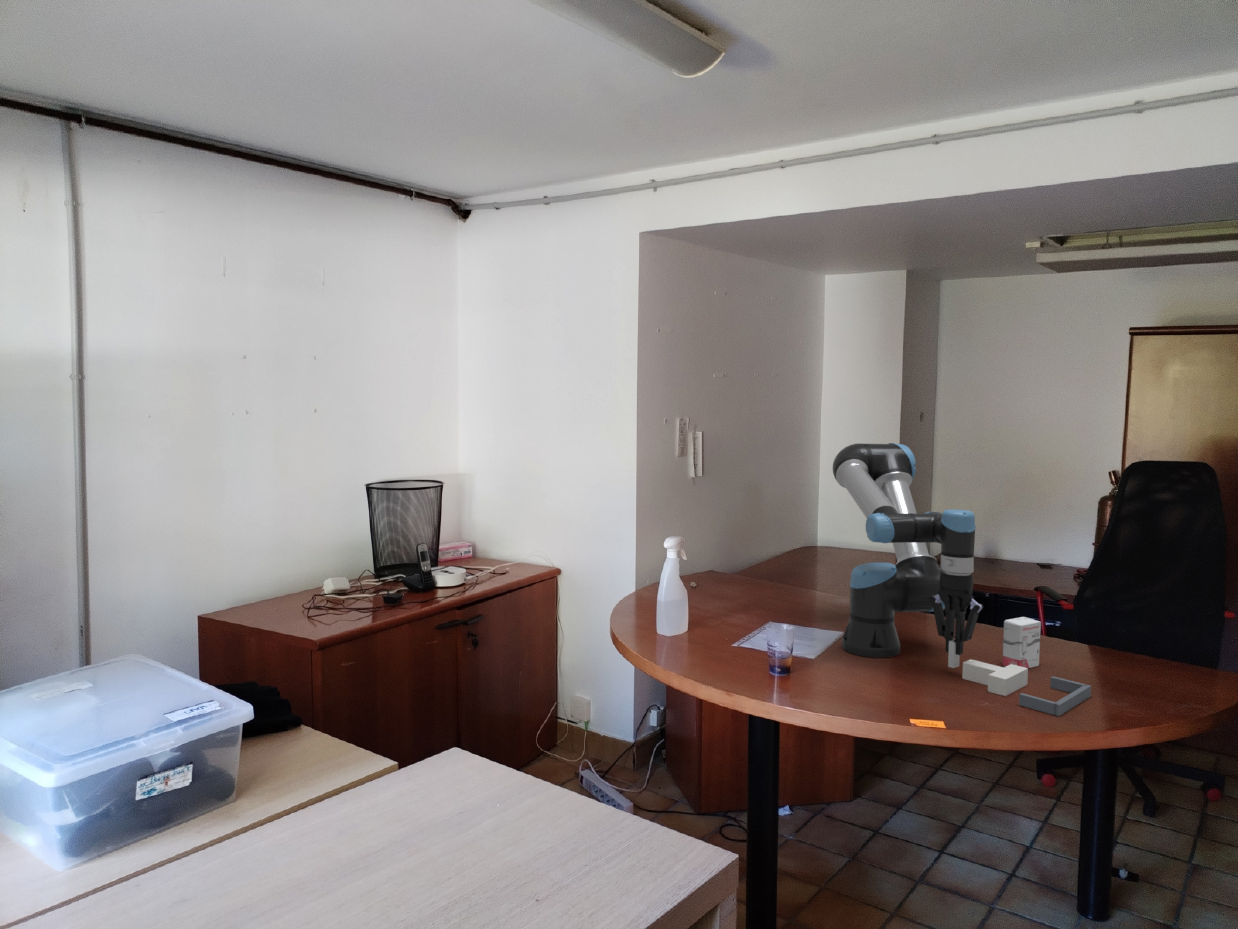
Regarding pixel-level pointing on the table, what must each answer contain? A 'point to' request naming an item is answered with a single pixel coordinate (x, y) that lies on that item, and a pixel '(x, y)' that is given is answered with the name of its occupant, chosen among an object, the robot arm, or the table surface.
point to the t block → (996, 676)
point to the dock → (1058, 708)
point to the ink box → (1021, 642)
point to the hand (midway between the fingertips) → (953, 666)
